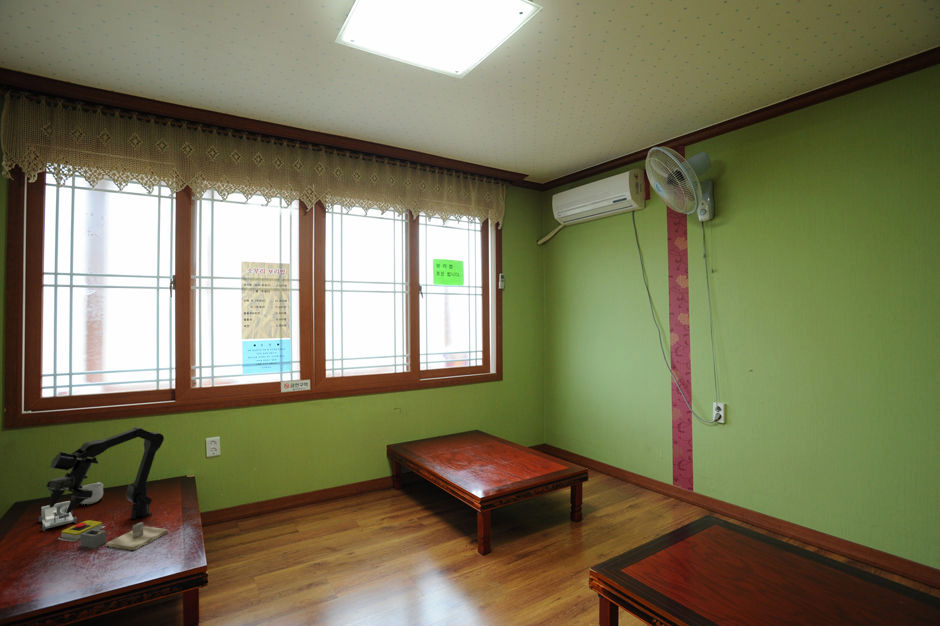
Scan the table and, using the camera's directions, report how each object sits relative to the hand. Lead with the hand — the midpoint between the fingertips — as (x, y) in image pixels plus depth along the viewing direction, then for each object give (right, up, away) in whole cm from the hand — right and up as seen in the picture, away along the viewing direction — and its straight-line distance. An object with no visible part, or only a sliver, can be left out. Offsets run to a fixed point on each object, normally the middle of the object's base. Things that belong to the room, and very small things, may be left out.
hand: (59, 510), depth 196 cm
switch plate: (+31, -14, +4) cm, 34 cm away
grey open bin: (+15, -14, -1) cm, 20 cm away
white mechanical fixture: (-16, -14, +18) cm, 28 cm away
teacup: (-21, -14, +43) cm, 49 cm away
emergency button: (+2, -14, +9) cm, 17 cm away
